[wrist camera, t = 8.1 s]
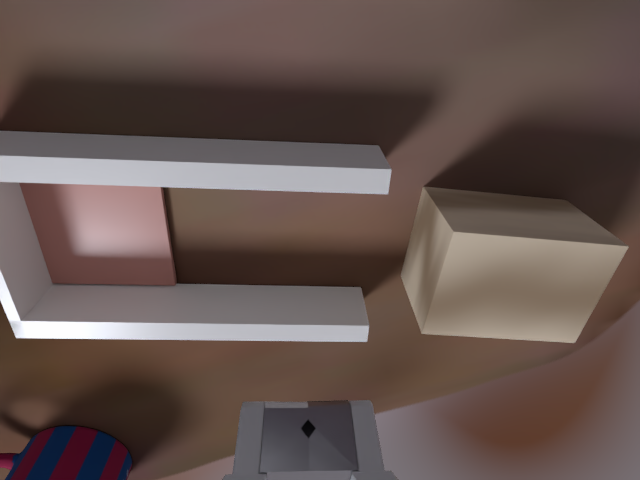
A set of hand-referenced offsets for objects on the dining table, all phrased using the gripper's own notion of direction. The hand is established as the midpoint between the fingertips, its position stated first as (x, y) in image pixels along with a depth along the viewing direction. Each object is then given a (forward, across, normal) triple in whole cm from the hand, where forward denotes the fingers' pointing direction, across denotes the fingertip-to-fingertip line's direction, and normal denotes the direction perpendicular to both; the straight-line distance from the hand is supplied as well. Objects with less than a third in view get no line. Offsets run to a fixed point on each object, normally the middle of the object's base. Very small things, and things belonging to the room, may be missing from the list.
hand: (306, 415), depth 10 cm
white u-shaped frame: (+11, +5, +2) cm, 12 cm away
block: (+11, -9, +2) cm, 14 cm away
